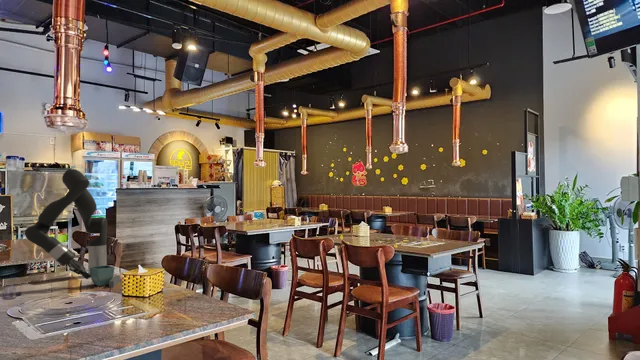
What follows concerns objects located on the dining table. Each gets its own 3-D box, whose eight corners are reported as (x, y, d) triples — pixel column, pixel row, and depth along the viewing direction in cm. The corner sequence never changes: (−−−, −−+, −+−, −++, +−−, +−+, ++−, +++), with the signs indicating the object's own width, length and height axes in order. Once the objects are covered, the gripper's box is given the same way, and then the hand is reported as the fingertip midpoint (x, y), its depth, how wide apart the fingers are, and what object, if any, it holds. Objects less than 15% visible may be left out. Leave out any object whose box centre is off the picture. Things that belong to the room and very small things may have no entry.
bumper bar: (109, 287, 204) (109, 281, 205) (115, 281, 220) (115, 275, 220) (113, 287, 205) (113, 281, 205) (119, 280, 220) (119, 275, 220)
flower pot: (114, 284, 212) (115, 266, 212) (97, 287, 205) (97, 269, 205) (105, 282, 217) (106, 264, 217) (88, 284, 210) (89, 267, 210)
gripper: (60, 258, 212) (86, 280, 215) (51, 262, 199) (79, 286, 202) (72, 247, 214) (98, 269, 216) (64, 250, 201) (91, 274, 204)
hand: (89, 277), depth 209 cm, fingers closed
